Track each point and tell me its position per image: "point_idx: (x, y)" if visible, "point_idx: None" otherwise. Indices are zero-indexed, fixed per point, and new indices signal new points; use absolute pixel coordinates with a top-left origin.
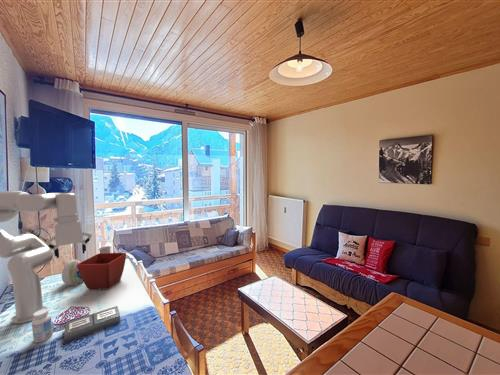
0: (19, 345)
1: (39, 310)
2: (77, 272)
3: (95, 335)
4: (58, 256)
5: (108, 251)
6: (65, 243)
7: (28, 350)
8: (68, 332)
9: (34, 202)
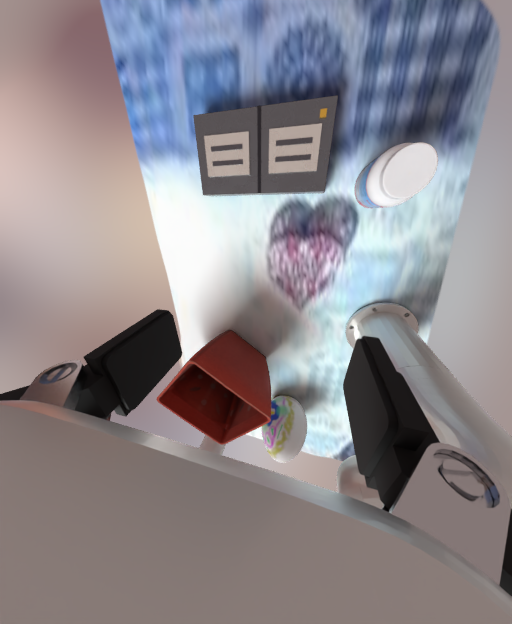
0: (431, 185)
1: (408, 194)
2: (276, 416)
3: (262, 82)
4: (363, 345)
5: (203, 442)
6: (237, 513)
7: (420, 131)
8: (325, 105)
9: None
